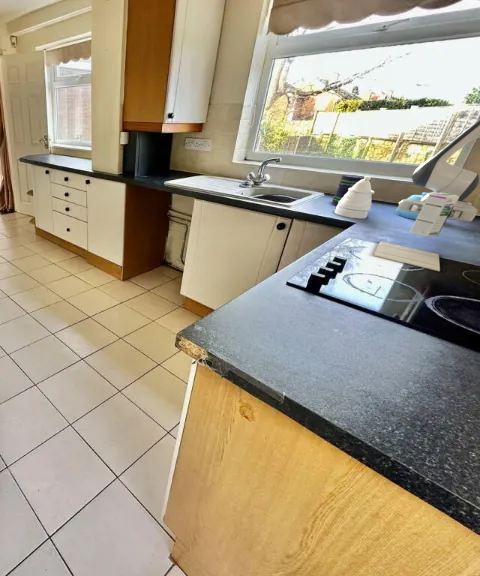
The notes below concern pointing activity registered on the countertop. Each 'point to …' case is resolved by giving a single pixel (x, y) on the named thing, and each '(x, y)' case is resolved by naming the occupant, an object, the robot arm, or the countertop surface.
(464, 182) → the robot arm
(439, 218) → the syrup box
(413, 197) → the sugar bowl
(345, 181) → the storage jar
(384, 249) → the wooden board
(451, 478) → the countertop surface
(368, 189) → the honey pot
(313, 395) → the countertop surface
